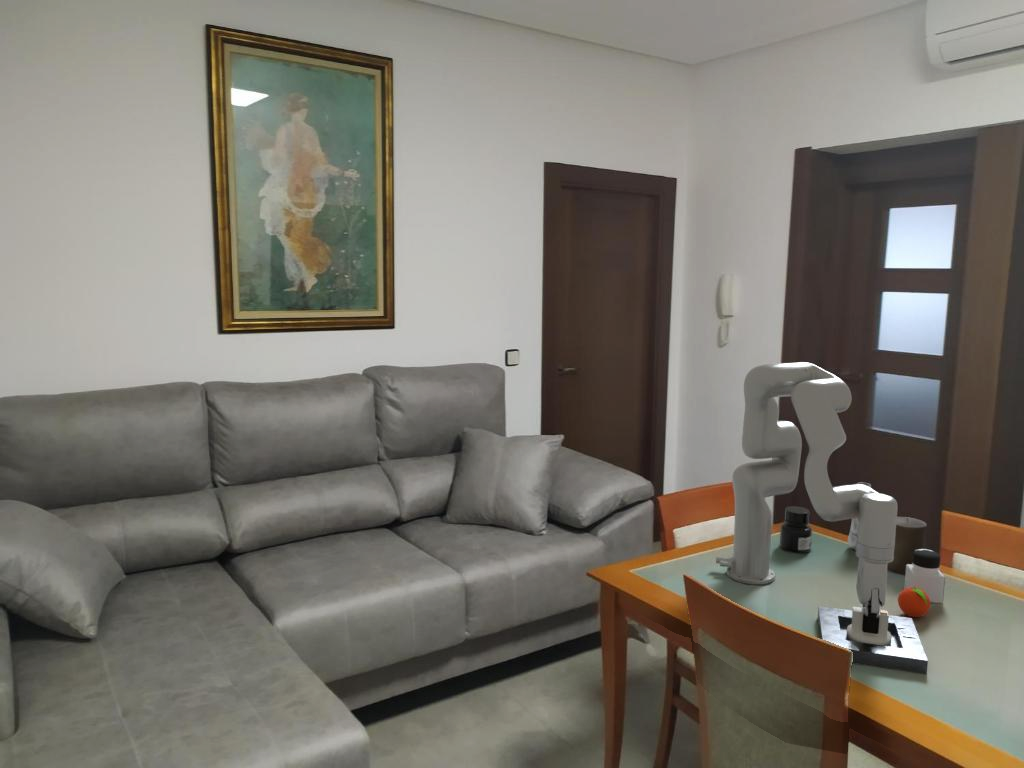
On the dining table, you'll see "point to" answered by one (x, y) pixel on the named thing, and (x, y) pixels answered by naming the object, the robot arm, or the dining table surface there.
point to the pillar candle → (907, 542)
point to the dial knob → (859, 636)
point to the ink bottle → (796, 530)
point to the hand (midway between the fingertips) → (869, 628)
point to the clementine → (914, 602)
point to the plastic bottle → (854, 528)
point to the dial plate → (897, 656)
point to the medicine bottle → (926, 574)
